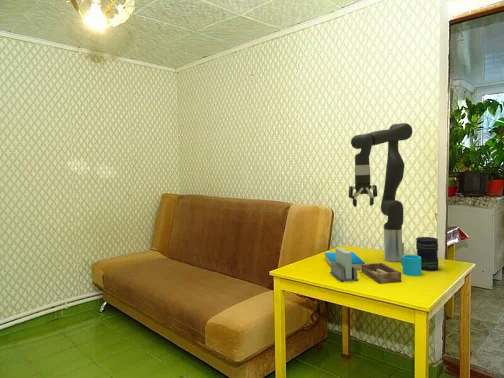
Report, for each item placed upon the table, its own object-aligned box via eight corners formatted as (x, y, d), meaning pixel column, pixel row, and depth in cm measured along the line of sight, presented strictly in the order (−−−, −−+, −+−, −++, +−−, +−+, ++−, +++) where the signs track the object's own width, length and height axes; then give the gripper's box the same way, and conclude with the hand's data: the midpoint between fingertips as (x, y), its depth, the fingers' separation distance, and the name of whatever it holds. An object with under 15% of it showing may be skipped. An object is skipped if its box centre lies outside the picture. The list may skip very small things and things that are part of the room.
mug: (425, 275, 166) (424, 257, 165) (409, 276, 164) (409, 259, 164) (409, 268, 178) (408, 252, 177) (394, 270, 176) (394, 253, 176)
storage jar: (428, 265, 182) (428, 236, 182) (443, 269, 173) (442, 239, 172) (412, 267, 180) (411, 238, 179) (425, 272, 170) (425, 241, 170)
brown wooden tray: (381, 270, 176) (381, 262, 175) (401, 281, 158) (401, 272, 158) (361, 272, 174) (361, 264, 174) (379, 283, 156) (378, 274, 156)
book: (332, 263, 179) (323, 252, 204) (333, 272, 180) (324, 259, 204) (366, 262, 179) (353, 250, 204) (366, 271, 179) (353, 258, 204)
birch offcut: (375, 273, 170) (379, 274, 171) (385, 277, 164) (388, 278, 164) (376, 268, 170) (379, 269, 171) (386, 272, 164) (389, 273, 164)
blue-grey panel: (342, 271, 174) (341, 247, 174) (352, 278, 162) (351, 252, 162) (336, 272, 174) (335, 247, 173) (345, 279, 162) (345, 253, 161)
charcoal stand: (346, 272, 175) (346, 260, 175) (358, 280, 162) (357, 267, 161) (330, 273, 174) (329, 261, 174) (340, 282, 161) (340, 269, 160)
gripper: (372, 173, 183) (373, 204, 184) (346, 174, 182) (347, 206, 182) (379, 173, 176) (380, 206, 176) (351, 174, 174) (352, 207, 175)
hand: (363, 206), depth 179 cm, fingers open, 8 cm apart
